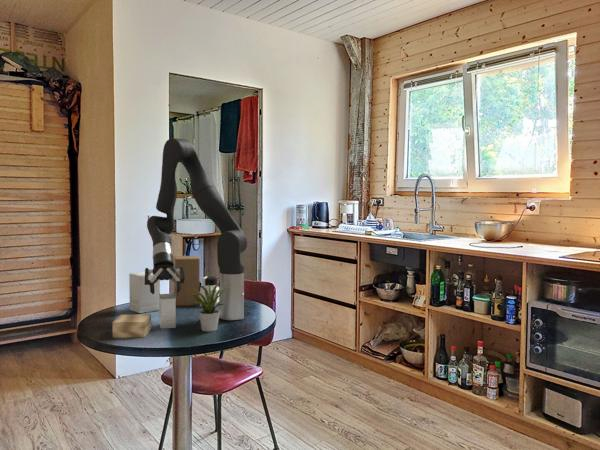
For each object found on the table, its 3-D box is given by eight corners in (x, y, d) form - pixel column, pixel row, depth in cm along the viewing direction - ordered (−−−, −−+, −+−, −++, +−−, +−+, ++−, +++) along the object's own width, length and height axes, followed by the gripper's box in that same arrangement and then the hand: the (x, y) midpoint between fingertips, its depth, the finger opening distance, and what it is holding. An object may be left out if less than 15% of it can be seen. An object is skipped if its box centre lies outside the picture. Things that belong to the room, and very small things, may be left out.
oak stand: (151, 328, 161) (151, 314, 161) (144, 337, 151) (144, 321, 151) (121, 329, 160) (120, 314, 160) (112, 337, 150) (112, 322, 150)
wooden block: (174, 301, 205) (174, 256, 204) (197, 300, 208) (197, 255, 207) (175, 306, 196) (175, 258, 195) (199, 305, 199) (199, 258, 198)
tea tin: (174, 323, 168) (174, 293, 168) (175, 327, 163) (175, 296, 163) (159, 325, 166) (159, 294, 166) (160, 328, 162) (160, 297, 161)
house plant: (228, 322, 172) (228, 277, 171) (237, 332, 159) (237, 284, 158) (188, 325, 167) (189, 279, 166) (194, 335, 154) (195, 286, 153)
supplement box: (160, 310, 188) (160, 273, 188) (139, 314, 182) (139, 275, 181) (149, 306, 195) (149, 270, 194) (128, 310, 188) (128, 273, 187)
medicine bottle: (219, 302, 204) (219, 275, 203) (216, 306, 197) (217, 278, 196) (202, 302, 203) (202, 275, 203) (199, 306, 196) (199, 278, 196)
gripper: (144, 251, 174) (145, 287, 164) (183, 250, 179) (186, 285, 169) (143, 263, 180) (144, 299, 169) (181, 262, 185) (184, 297, 175)
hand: (165, 292), depth 169 cm, fingers open, 8 cm apart
